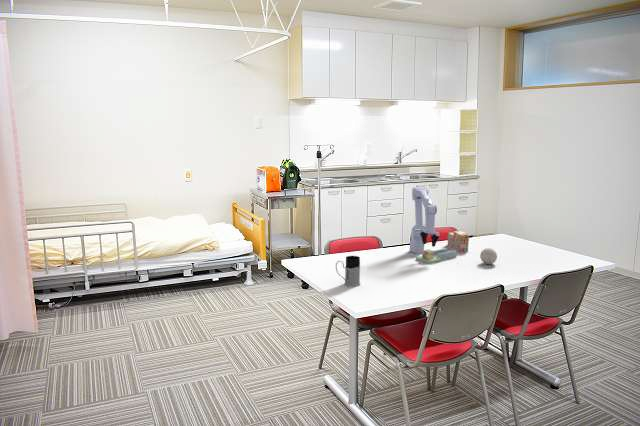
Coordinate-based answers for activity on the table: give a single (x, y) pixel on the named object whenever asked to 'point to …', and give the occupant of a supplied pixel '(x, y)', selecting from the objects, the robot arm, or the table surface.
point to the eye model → (488, 256)
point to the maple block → (428, 254)
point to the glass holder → (351, 271)
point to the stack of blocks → (458, 241)
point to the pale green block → (438, 256)
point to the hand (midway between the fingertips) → (429, 245)
